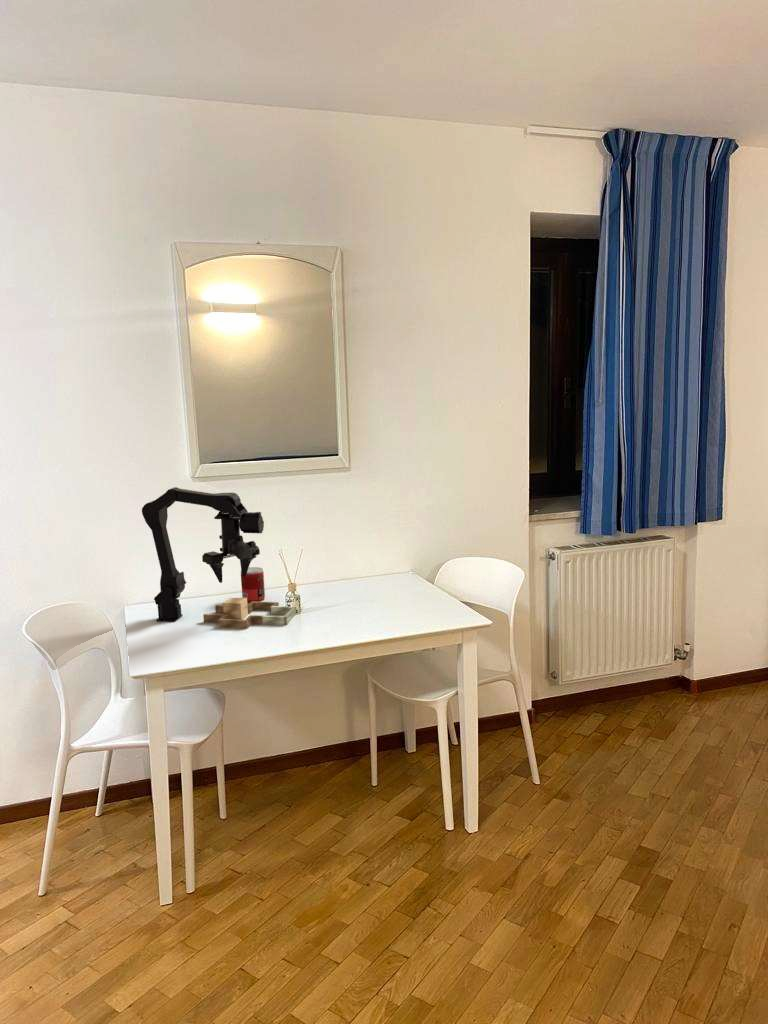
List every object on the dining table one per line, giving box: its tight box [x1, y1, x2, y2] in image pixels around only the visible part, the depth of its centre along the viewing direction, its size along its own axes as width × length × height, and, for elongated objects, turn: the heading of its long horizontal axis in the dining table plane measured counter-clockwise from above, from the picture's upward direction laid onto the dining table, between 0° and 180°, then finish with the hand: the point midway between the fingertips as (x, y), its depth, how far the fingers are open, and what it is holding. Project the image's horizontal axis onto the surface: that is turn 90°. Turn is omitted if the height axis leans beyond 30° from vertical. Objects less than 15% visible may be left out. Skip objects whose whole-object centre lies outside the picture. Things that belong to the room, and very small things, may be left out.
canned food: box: [240, 566, 266, 604], centre depth 268 cm, size 8×8×11 cm
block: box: [222, 597, 249, 620], centre depth 249 cm, size 6×6×6 cm
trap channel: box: [203, 601, 298, 629], centre depth 249 cm, size 28×20×2 cm
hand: (232, 579), depth 245 cm, fingers open, 9 cm apart
